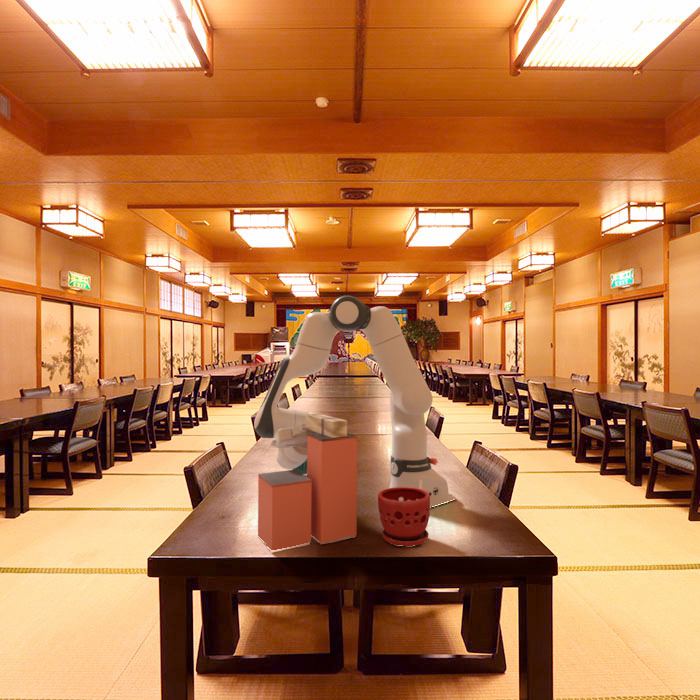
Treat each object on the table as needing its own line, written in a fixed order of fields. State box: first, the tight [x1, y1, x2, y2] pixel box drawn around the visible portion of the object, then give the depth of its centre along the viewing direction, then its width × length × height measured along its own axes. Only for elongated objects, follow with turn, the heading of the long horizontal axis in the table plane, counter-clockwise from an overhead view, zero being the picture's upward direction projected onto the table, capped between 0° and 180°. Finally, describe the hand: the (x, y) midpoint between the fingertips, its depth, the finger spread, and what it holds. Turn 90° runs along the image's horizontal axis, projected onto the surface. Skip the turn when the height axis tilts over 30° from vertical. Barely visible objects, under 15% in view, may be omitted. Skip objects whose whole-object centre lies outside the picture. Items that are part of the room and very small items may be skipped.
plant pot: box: [377, 487, 431, 546], centre depth 116 cm, size 13×13×12 cm
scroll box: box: [306, 413, 348, 438], centre depth 122 cm, size 4×17×4 cm, turn 28°
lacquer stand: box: [257, 432, 358, 550], centre depth 117 cm, size 22×12×26 cm, turn 118°
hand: (319, 425), depth 126 cm, fingers open, 8 cm apart
